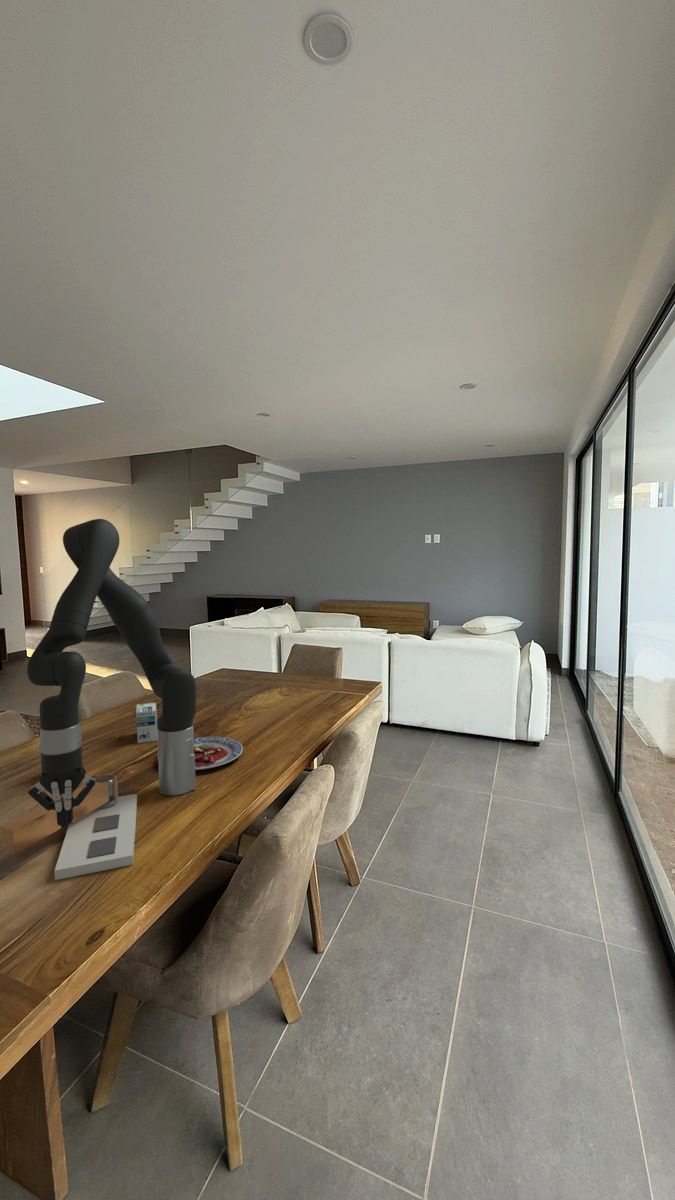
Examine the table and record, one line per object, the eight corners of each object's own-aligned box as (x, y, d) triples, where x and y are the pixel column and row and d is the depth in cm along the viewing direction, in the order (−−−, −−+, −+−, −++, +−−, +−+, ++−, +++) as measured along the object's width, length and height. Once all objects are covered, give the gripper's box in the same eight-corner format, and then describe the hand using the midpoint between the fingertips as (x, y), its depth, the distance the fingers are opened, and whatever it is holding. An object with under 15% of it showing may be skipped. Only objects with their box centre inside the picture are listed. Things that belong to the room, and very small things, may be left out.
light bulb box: (158, 741, 168) (157, 710, 167) (137, 744, 165) (135, 712, 165) (157, 731, 178) (156, 702, 177) (137, 733, 175) (136, 704, 174)
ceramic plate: (221, 780, 139) (221, 769, 138) (140, 772, 144) (139, 762, 144) (255, 745, 164) (255, 737, 164) (184, 740, 169) (184, 732, 169)
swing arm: (119, 795, 122) (118, 776, 121) (15, 854, 98) (13, 830, 97) (106, 792, 123) (105, 773, 123) (0, 849, 99) (-1, 826, 99)
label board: (137, 801, 126) (136, 790, 126) (133, 864, 100) (132, 850, 100) (76, 811, 121) (75, 799, 121) (55, 880, 95) (54, 865, 95)
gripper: (98, 736, 108) (102, 811, 110) (29, 743, 104) (34, 822, 105) (94, 748, 101) (97, 828, 102) (19, 757, 97) (24, 841, 98)
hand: (65, 825), depth 104 cm, fingers closed
